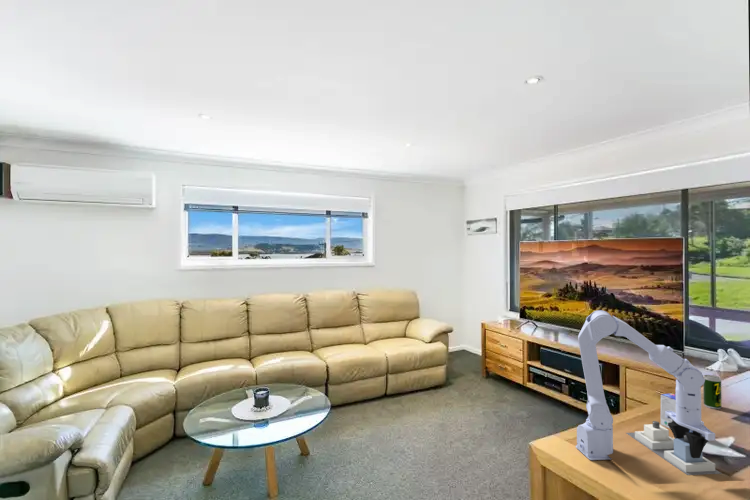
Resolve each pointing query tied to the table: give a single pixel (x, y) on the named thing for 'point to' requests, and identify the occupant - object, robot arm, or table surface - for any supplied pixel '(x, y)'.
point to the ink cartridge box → (668, 408)
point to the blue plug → (684, 450)
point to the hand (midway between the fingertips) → (688, 453)
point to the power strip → (667, 453)
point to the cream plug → (656, 432)
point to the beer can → (712, 392)
